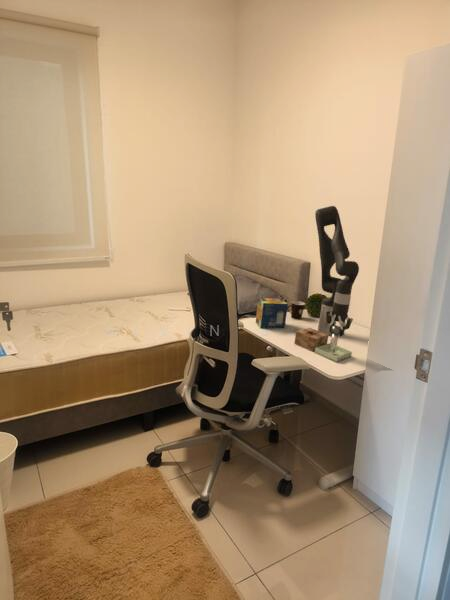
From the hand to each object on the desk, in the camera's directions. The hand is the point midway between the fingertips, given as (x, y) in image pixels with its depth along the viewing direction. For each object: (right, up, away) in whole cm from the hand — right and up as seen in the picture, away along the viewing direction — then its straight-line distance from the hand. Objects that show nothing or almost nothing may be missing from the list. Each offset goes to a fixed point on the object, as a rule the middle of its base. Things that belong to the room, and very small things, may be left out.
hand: (336, 334), depth 193 cm
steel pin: (-2, -9, +2) cm, 9 cm away
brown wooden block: (-10, -7, +13) cm, 18 cm away
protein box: (-28, +2, +39) cm, 49 cm away
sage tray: (-1, -11, +3) cm, 11 cm away
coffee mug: (-11, +5, +58) cm, 59 cm away
